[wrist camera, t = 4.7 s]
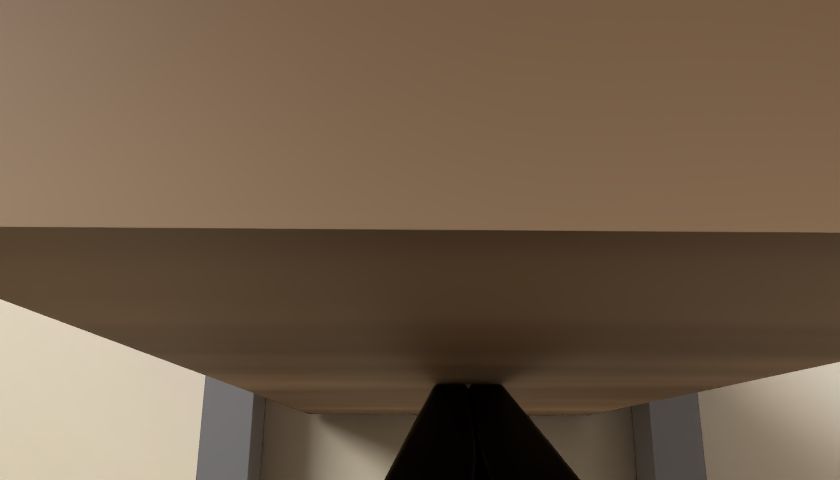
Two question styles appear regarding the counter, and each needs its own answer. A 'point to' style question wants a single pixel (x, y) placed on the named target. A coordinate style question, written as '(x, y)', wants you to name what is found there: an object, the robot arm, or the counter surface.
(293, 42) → the brown wooden tall block
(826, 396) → the counter surface
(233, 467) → the twin grey rails
